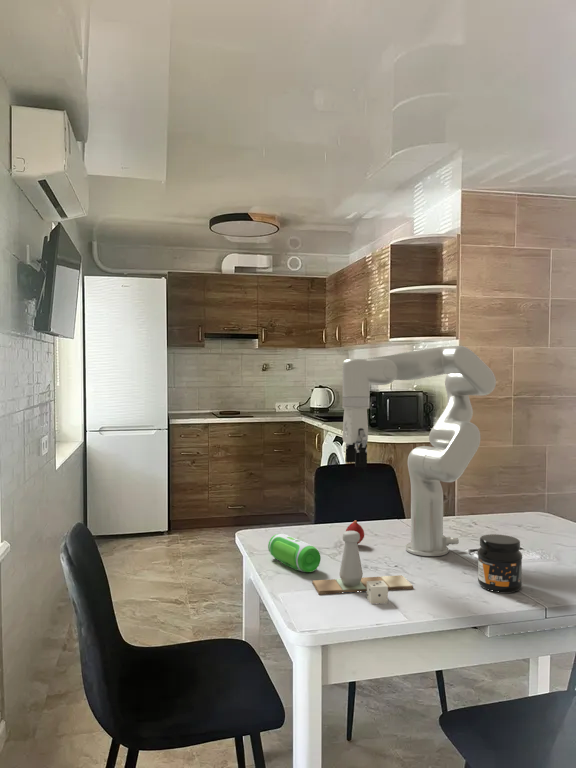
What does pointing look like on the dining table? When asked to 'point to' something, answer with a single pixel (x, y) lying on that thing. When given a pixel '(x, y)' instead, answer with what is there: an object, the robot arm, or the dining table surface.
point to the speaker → (294, 553)
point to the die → (377, 592)
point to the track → (339, 587)
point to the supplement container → (500, 563)
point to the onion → (356, 529)
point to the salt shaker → (351, 560)
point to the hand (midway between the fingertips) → (356, 464)
